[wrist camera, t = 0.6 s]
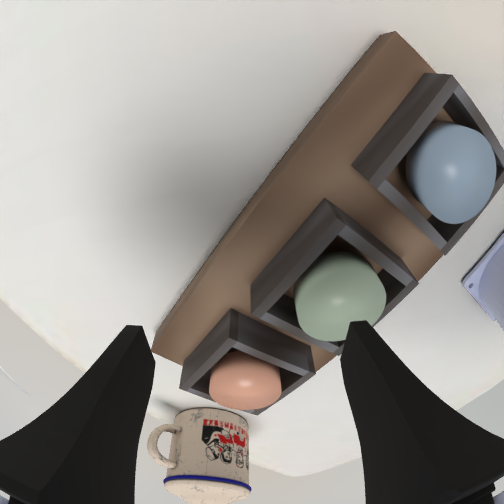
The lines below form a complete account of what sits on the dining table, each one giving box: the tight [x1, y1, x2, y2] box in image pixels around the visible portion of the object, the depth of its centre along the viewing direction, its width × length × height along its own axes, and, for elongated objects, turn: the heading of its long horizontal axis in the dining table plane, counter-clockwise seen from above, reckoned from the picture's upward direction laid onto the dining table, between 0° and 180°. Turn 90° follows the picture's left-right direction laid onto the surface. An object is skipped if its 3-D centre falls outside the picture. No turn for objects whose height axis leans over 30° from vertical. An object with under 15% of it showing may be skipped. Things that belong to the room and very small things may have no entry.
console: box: [151, 31, 504, 415], centre depth 18 cm, size 12×26×5 cm, turn 145°
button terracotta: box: [209, 351, 282, 410], centre depth 20 cm, size 5×5×2 cm
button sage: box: [293, 251, 386, 341], centre depth 16 cm, size 5×5×2 cm
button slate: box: [405, 121, 496, 224], centre depth 12 cm, size 5×5×2 cm
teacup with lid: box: [147, 408, 251, 504], centre depth 26 cm, size 12×9×12 cm
